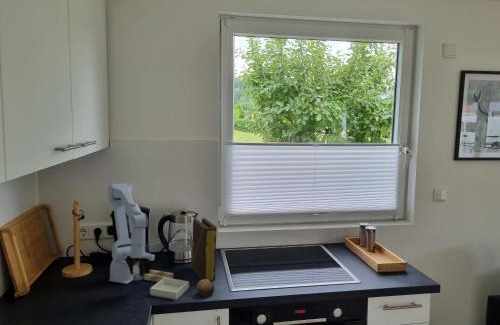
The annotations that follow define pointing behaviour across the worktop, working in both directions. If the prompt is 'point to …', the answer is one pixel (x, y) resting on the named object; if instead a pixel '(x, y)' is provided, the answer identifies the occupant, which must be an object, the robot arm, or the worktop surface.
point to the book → (204, 249)
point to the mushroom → (205, 287)
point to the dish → (169, 288)
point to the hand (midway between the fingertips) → (137, 274)
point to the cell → (136, 271)
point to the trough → (157, 275)
